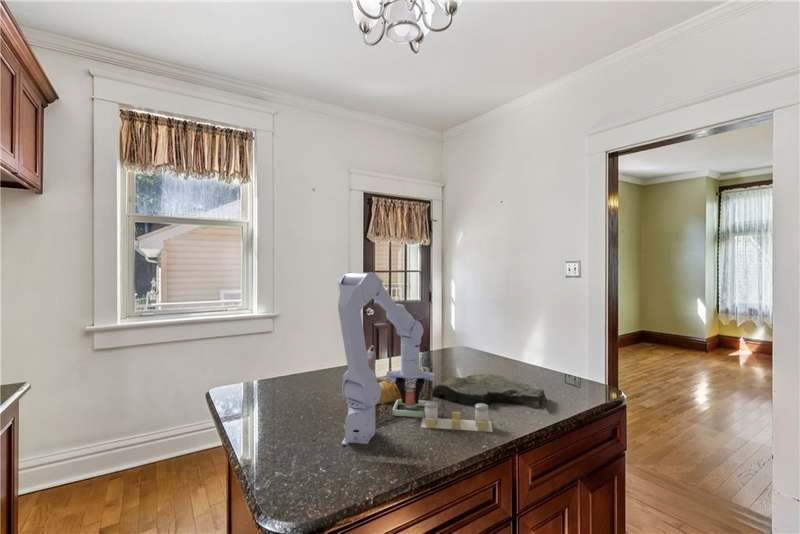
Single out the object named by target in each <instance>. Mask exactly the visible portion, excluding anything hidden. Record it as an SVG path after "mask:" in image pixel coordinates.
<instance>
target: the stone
mask: <svg viewBox="0 0 800 534" xmlns="http://www.w3.org/2000/svg"><path fill="white" fill-rule="evenodd" d="M544 390H545V389H543V388H541V387H538V386H535V385H532V384H527V383H524V382H523V383H522V382H519V381H515V380H512V379H510V378H509V377H505V376H504V375H499V374H494V373H493V374H492V373H485V374H484V373H483V374H469V376H466V377H459V376H456V377H455V376H452V377H449V378H446V379H445V380H443V381H442V382H439V383H438V384H435V385H434V387H433V388H432V392H431V397H433V398H434V399H436V398H438V399H443V398H444V400H446V401H448V402H455V403H458V404H459V403H460V404H463V405H464V406H472V407H475V405H476V404H478V403H483V404H486V405H488V406H491V404H506V405H507V404H510V405H517V406H523V407H526V408H531V409H534V410H537V409H540V408H542V407H543V408H544V409H545V408H547V396H546V394H545V391H544ZM442 395H443V396H442ZM541 405H542V406H541Z"/></svg>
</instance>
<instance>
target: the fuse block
mask: <svg viewBox="0 0 800 534" xmlns="http://www.w3.org/2000/svg"><path fill="white" fill-rule="evenodd" d="M461 417H462V416H461V411H451V418H441V417H440V418H439V417H438V424H437V425H435V418H426V424H425V417H422V419H421V423H420V424H421V425H420V428H427V429H441V430H442V429H443V430H456V431H457V430H458V431H459V430H460V431H461V430H462V431H472V432H473V431H474V432H475V431H476V432H491V433H493V432H494V431H493V424H492V421H490V420H488V428H487V421H478V428H477V427H476V426H475V420H472V419H461Z"/></svg>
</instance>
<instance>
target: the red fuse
mask: <svg viewBox="0 0 800 534" xmlns="http://www.w3.org/2000/svg"><path fill="white" fill-rule="evenodd" d="M404 407H405V408H408V409H414V408H416V407H417V406H416V385H405V405H404Z"/></svg>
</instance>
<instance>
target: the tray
mask: <svg viewBox="0 0 800 534" xmlns="http://www.w3.org/2000/svg"><path fill="white" fill-rule="evenodd" d="M427 401H428V400H420V399H419V402H418V404H416V407H424V408H423V410H408V409H407V410H406V409H398V406H405V403H402V398H401V399H397V400H396V401H394V405H393V407H392V409H391V416H396V417H397V416H398V417H410V418H411V417H413V418H414V417H415V418H423V417H424V418H425V402H427Z"/></svg>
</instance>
